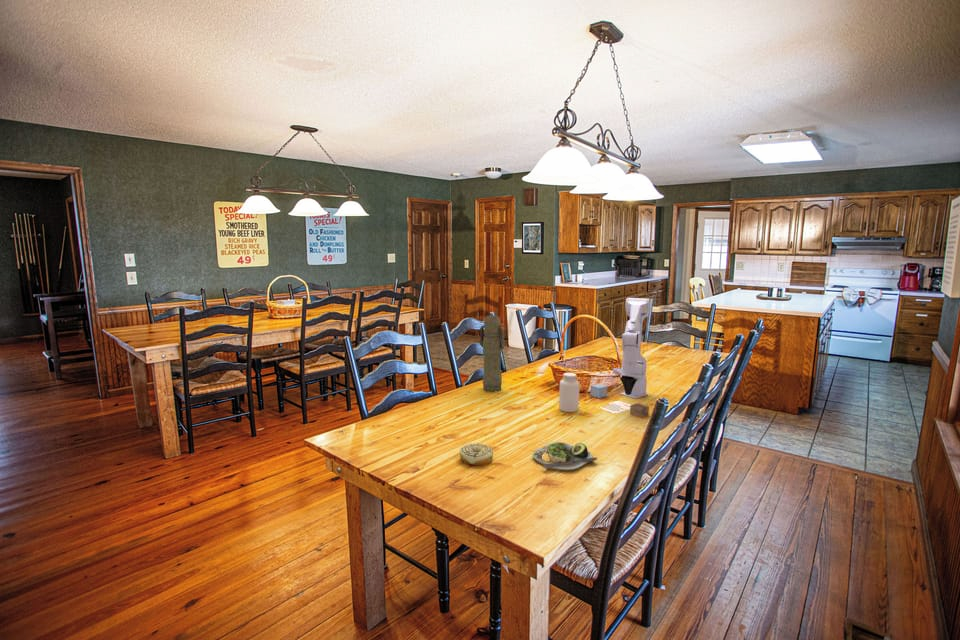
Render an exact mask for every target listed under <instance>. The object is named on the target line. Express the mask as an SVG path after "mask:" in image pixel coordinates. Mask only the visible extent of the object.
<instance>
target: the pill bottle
mask: <svg viewBox="0 0 960 640" xmlns="http://www.w3.org/2000/svg"><path fill="white" fill-rule="evenodd" d="M562 375H563V377H562V379H561V380H560V381H559V388H558V389H559V392H558V409H559V410H560V411H562V412H566V413H575V412H577V411H579V405H580V404H579V402H580V399H579V397H580V382H579V381H578V380H577V374H576V373H574V372H564V373H563V374H562Z"/></svg>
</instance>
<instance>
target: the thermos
mask: <svg viewBox="0 0 960 640" xmlns="http://www.w3.org/2000/svg"><path fill="white" fill-rule="evenodd" d="M479 335H480V339H479V340H480V343H479V344H480V347H482V355H483V374H482V386H483V387H482V390H483V391H484V390H485V392H487V391H490V392H489V393H496V392H495V391H497V392H501V390H502V384H503V382H502V380H503V379H502V377H503V375H502V372H501V371H502V369H501V367H502V366H501V361H502V359H501V357H502V356H501V355H502V350H504V349H505V328H504V326H502V325H501V320H500V317H499V316H498V315H497V314H496V315H495V314H488V315H486V316H485V318H484V320H483V325H481V326H480V327H479Z"/></svg>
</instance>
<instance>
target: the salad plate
mask: <svg viewBox="0 0 960 640" xmlns="http://www.w3.org/2000/svg"><path fill="white" fill-rule="evenodd" d="M546 452H547V453H548V458H549V460H544V459H542V455H543V454H544V453H546ZM547 453H546V454H547ZM544 455H545V454H544ZM532 457H533V459H534V460H535V461H537V462H538V464H540V465H542V468H543V469H550V470H551V469H552V470H557V471H558V470H559V471H575V470H577V469H579V468H581V467H584V466H585V465H588V464H590V463H591V462H594V461H597V460H598V457H593V454H592V453H591V452H590V451H588V447H587V446H586V444H585V443H582V442H578V443H575V445H572V444H570V443H568V442H563V441H562V442H561V441H560V442H559V441H553V442H550V443H548V444H546V445H544V446H542V447H540V448H537V449H535V450H534V451H532Z"/></svg>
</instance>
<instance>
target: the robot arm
mask: <svg viewBox="0 0 960 640" xmlns="http://www.w3.org/2000/svg"><path fill="white" fill-rule="evenodd" d="M650 307H651V299H650V298H649V297H647V298H639V297H637V298H636V297H627V298H626V299H625V312H626V315H627V317H629V320H627V321H626V324H625V329H624V332H623V333H622V334H621V335H622V336H621V347H622V348H621V349H622V360H621V361H622V362H621V368H618V367H615V368H613V369H612V373H613V374H615V375H616V374H617V375H620V378H619V379H620V382H621V384H622V385H623V390H624V391H623V392H620V395H622V396H626V397H629V398H631V399H638V398H641V397H644V396H648V395H649V394H648V393H647V387H648V386H647V384H648V383H647V382H648V380H647V375H646V374H647V359H646V358H645V357H644V356H643V355H642V354H641V350H642V349H641V347H642V336H643V323H644V320H645V318H647V317H649V315H650V309H651V308H650Z"/></svg>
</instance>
